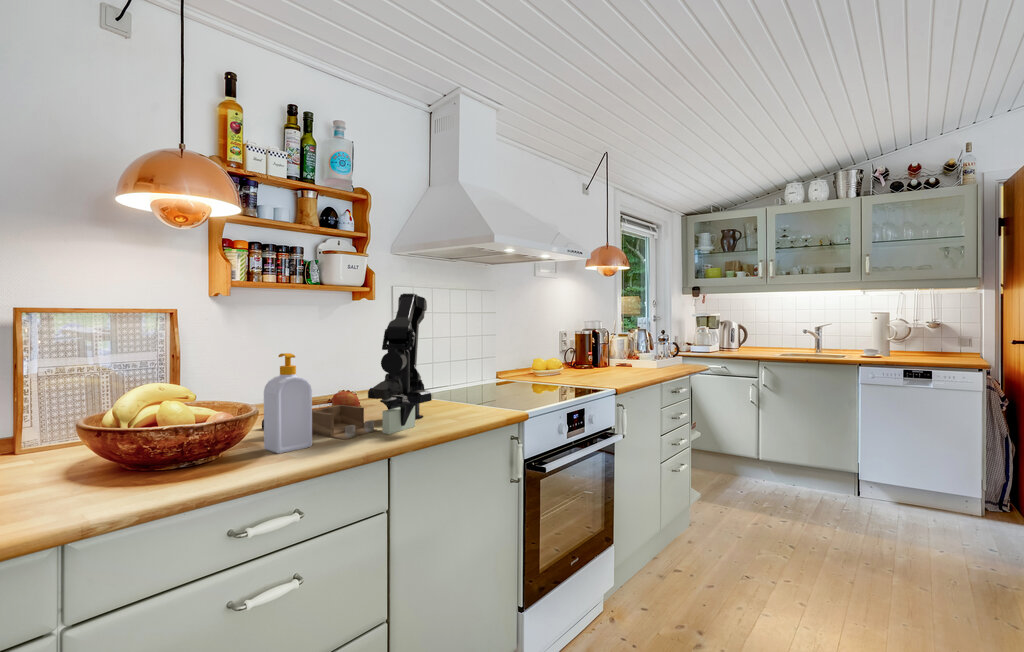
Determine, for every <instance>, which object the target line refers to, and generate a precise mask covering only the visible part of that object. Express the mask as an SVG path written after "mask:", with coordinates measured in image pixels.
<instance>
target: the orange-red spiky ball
mask: <svg viewBox="0 0 1024 652" xmlns="http://www.w3.org/2000/svg"><path fill="white" fill-rule="evenodd" d="M337 405H347V406H355V407H360V399H359V397H358V396H357V395H356V393H353V392H350V391H339V392H338V391H337V392H336V393H335V394H333V396H332V401H331V407H332V406H337Z"/></svg>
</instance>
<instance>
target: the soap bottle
mask: <svg viewBox="0 0 1024 652" xmlns="http://www.w3.org/2000/svg"><path fill="white" fill-rule="evenodd" d="M277 357H278V358H283V357H284V365H279V375H277V376H274V377H273V378H271V379H270V380H268V382H267V383H266V384H265V385H264V389H263V419H264V429H263V448H264V450H266V451H270V452H271V453H275V454H279V455H280V454H284V453H289V452H293V451H299V450H302V449H307V448H308V447H309V448H311V447H312V446H313V434H312V410H313V389H312V385H311V383H310V382H309V381H308V380H307V379H305V378H303V377H300V376H298V375H297V366H296V365H294V364H293V365H292V359H293V358H296V355H295V354H293V353H292V352H291V353H290V352H289V353H288V352H287V353H280V354H278V356H277Z"/></svg>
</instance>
